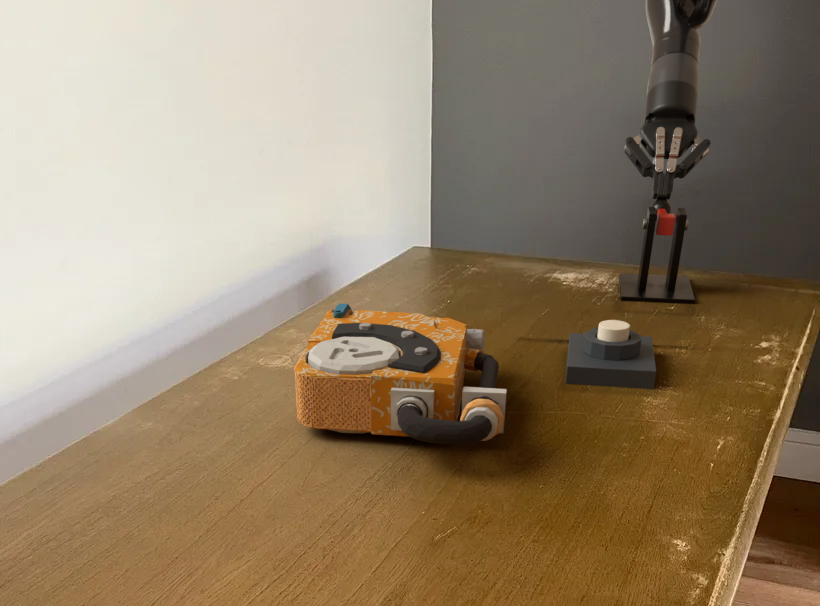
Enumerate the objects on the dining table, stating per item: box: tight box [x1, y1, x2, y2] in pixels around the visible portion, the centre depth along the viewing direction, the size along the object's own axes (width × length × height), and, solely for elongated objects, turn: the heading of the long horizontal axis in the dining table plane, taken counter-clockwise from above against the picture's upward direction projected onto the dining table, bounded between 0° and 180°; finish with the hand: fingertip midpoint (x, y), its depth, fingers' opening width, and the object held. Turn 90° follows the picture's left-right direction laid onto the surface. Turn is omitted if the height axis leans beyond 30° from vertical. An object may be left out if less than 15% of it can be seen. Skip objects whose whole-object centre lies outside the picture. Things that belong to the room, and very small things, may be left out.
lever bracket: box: [618, 206, 696, 305], centre depth 136 cm, size 12×10×12 cm
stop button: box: [597, 319, 631, 342], centre depth 113 cm, size 4×4×2 cm
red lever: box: [650, 199, 676, 236], centre depth 138 cm, size 14×3×3 cm, turn 169°
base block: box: [565, 327, 657, 390], centre depth 114 cm, size 12×10×4 cm
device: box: [293, 302, 508, 446], centre depth 103 cm, size 23×8×30 cm
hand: (661, 200), depth 143 cm, fingers closed
